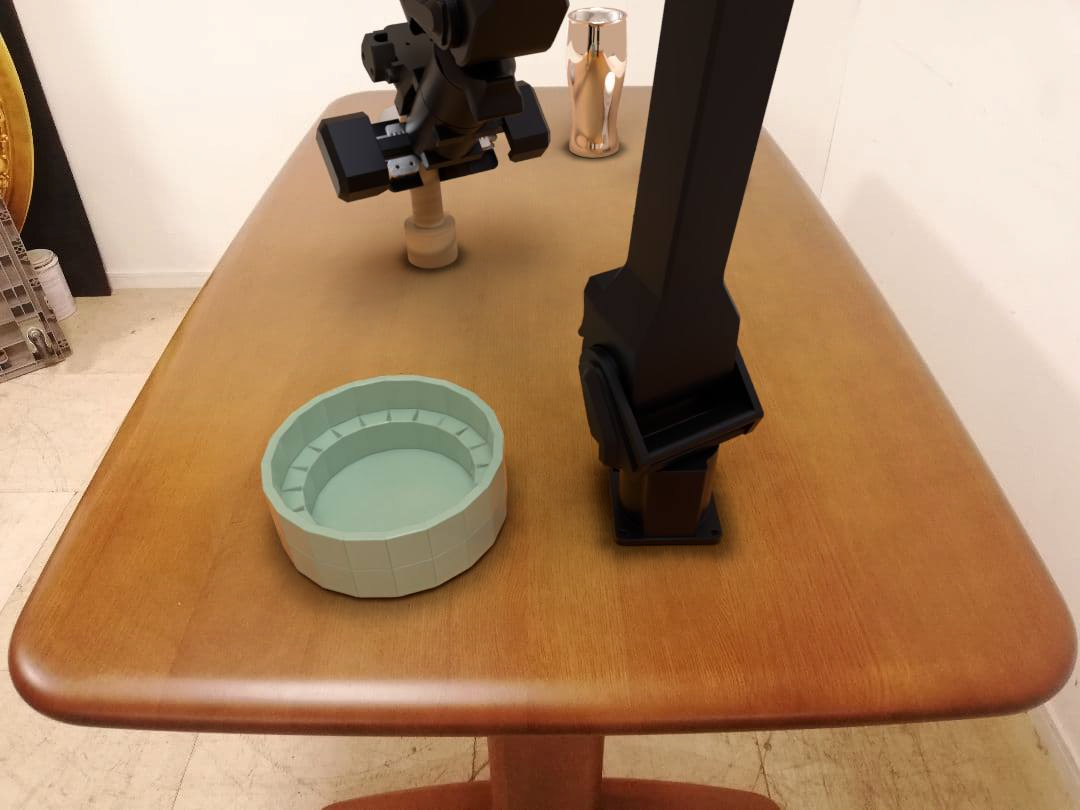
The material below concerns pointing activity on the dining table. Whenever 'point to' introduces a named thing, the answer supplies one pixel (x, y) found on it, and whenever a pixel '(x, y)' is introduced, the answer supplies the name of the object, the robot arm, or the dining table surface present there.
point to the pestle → (429, 224)
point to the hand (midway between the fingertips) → (419, 181)
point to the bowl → (387, 484)
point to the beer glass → (595, 78)
